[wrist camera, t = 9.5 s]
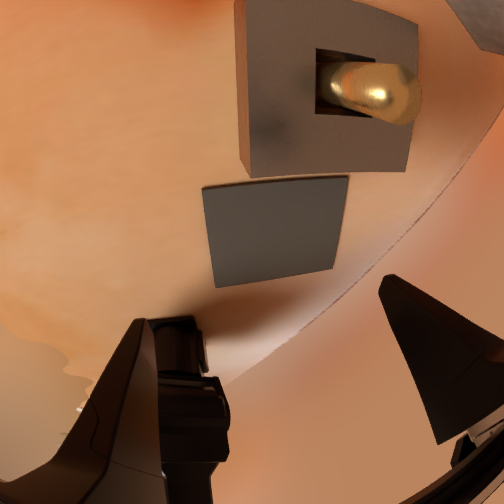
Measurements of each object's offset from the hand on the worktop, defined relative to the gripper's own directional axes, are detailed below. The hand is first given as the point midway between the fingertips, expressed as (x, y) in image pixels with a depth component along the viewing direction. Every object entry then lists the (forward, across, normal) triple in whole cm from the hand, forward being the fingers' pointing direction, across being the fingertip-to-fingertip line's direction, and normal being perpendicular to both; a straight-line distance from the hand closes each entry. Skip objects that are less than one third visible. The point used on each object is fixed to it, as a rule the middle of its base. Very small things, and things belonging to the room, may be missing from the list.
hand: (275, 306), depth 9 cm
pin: (+13, -7, -7) cm, 16 cm away
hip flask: (+13, -23, -21) cm, 34 cm away
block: (+13, -7, -7) cm, 16 cm away
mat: (+13, -4, +6) cm, 15 cm away
